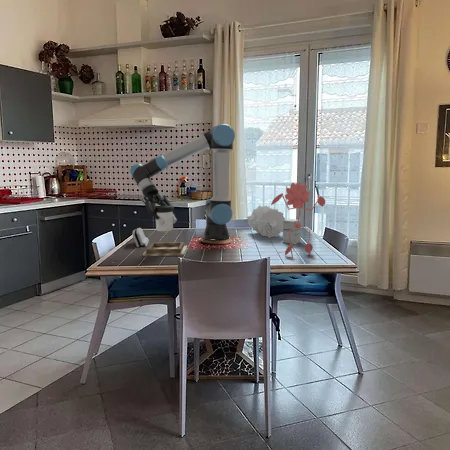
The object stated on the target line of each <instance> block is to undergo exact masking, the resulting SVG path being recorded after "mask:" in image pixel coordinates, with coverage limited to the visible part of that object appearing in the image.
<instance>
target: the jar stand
mask: <svg viewBox="0 0 450 450" xmlns="http://www.w3.org/2000/svg"><path fill="white" fill-rule="evenodd" d="M187 249H188V245H185V242H184V241H182V242H181V241H178V242H177V241H175V242H174V241H173V242H169V241H168V242H151V243H150V244H149V246H148V247H147V248H146V249H145V251H144V252H143V253H142V257H155V256H156V257H163V256H164V257H166V256H167V257H168V256H180V257H181V256H185V253H186V251H187Z"/></svg>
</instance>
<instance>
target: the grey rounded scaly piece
mask: <svg viewBox="0 0 450 450" xmlns="http://www.w3.org/2000/svg"><path fill="white" fill-rule="evenodd" d="M246 219H247V222H248V226H249V227H250V228H251V229H252V231H253V232H254V231H255V232H256V233H257V234H259V235H260V234H261V235H260V236H264V237H268V238H269V239H270V238H272V237H275V238H277V237H278V236H279V235H280V234H281V233H283V220H286V218H285V217H284V212H281V211H279V209H276V208H272V207H270V206H269V205H264V206H261V205H258V206H257V207H256V208H254V209H253V210H252V212H251V215H248V216H247V217H246Z"/></svg>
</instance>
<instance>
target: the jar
mask: <svg viewBox="0 0 450 450" xmlns="http://www.w3.org/2000/svg"><path fill="white" fill-rule="evenodd" d="M172 206H173V205H172ZM172 206H167V205H164V206H160V205H157V206H156V211H157V212H158V213H157V215H158V216H159V215H160V216H161V217H162V219H163V220H164V224H163V225H161V224H160V223H159V219H158V220H157V219H156V218H155V229H156V231H158V232H169V231H170V232H171V231H174V223H173V213H174V212H173V213H172Z"/></svg>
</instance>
